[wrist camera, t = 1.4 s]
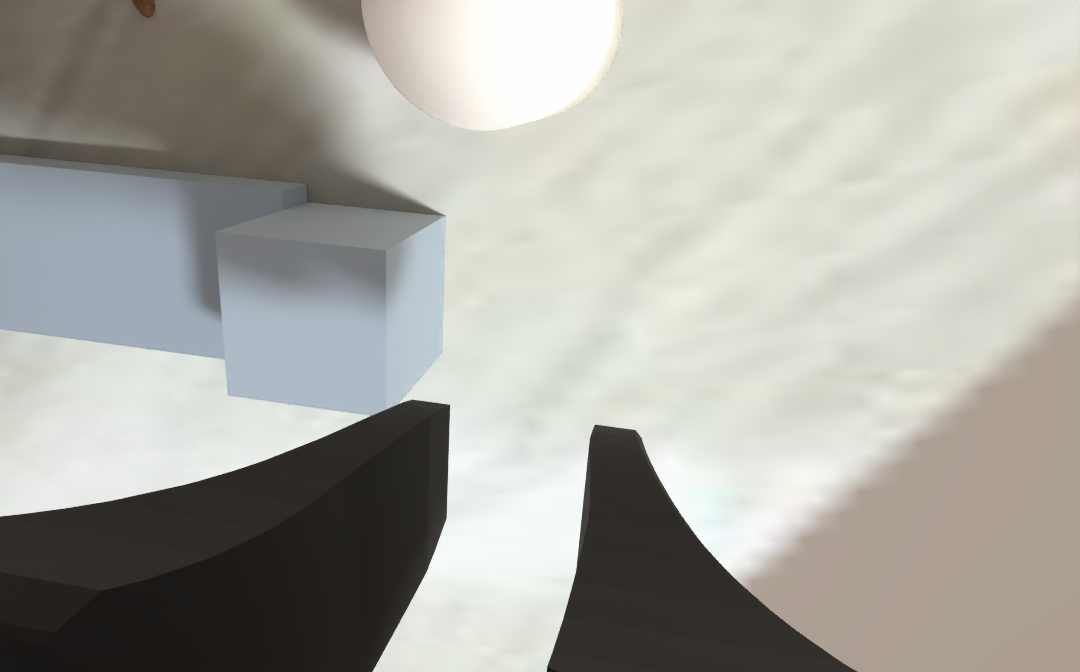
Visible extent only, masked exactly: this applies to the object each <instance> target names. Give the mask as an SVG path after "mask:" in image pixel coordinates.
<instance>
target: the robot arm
mask: <svg viewBox="0 0 1080 672" xmlns="http://www.w3.org/2000/svg"><path fill="white" fill-rule="evenodd" d="M449 420H450V405H447V404H440V403H432V402H425V401H418V400H410V401H407V402H403V403H401V404H398V405H395V406H393V407H390V408H388V409H386V410H383V411H381V412H379V413H377V414H374V415H372V416H370V417H368V418H366V419H363V420H361V421H359V422H357V423H354V424H352V425H350V426H348V427H345V428H343V429H341V430H339V431H336V432H334V433H332V434H330V435H328V436H325V437H323V438H321V439H318V440H316V441H313V442H311V443H308V444H305V445H303V446H300V447H298V448H295V449H293V450H290V451H288V452H285V453H283V454H280V455H278V456H275V457H273V458H270V459H268V460H265V461H262V462H259V463H256V464H253V465H250V466H247V467H244V468H241V469H238V470H235V471H232V472H228V473H225V474H222V475H218V476H215V477H211V478H208V479H205V480H201V481H198V482H194V483H190V484H186V485H182V486H177V487H173V488H168V489H164V490H159V491H155V492H150V493H146V494H141V495H137V496H132V497H127V498H123V499H118V500H113V501H108V502H102V503H96V504H90V505H84V506H78V507H72V508H66V509H58V510H51V511H43V512H36V513H28V514H20V515H11V516H2V517H0V672H372V671H373V670H374V668H375V666H376V664H377V662H378V661H379V659H380V657H381V655H382V653H383V651H384V650H385V648H386V646H387V644H388V642H389V640H390V639H391V637H392V635H393V633H394V631H395V629H396V628H397V626H398V624H399V622H400V620H401V619H402V617H403V615H404V613H405V611H406V609H407V607H408V606H409V604H410V602H411V600H412V598H413V596H414V594H415V593H416V591H417V589H418V587H419V585H420V583H421V581H422V579H423V577H424V576H425V574H426V572H427V569H428V567H429V564H430V562H431V559H432V556H433V554H434V551H435V549H436V546H437V543H438V540H439V538H440V535H441V532H442V529H443V526H444V524H445V521H446V518H447V485H448V452H449ZM547 672H857V671H855V670H853V669H852V668H850V667H848V666H847V665H845V664H843V663H842V662H840V661H839V660H837V659H836V658H834V657H833V656H831V655H830V654H829V653H827V652H826V651H824V650H823V649H822V648H820V647H819V646H817V645H816V644H814V643H813V642H812V641H810V640H809V639H807V638H806V637H804V636H803V635H802V634H800V633H799V632H797V631H796V630H795V629H794V628H792V627H791V626H790V625H788V624H787V623H786V622H785V621H783V620H782V619H781V618H779V617H778V616H777V615H776V614H774V613H773V612H772V611H771V610H769V609H768V608H767V607H766V606H765V605H764V604H762V603H761V602H760V601H759V600H758V599H757V598H756V597H755V596H753V595H752V594H751V593H750V592H749V591H748V590H747V589H746V588H744V587H743V586H742V585H741V584H740V583H739V582H738V581H737V580H736V579H735V578H734V577H733V576H732V575H731V574H730V573H729V572H728V571H727V570H726V569H725V568H724V567H723V566H722V565H721V564H720V563H719V562H718V561H717V560H716V559H715V557H714V556H713V555H712V554H711V553H710V552H709V551H708V550H707V549H706V548H705V546H704V545H703V544H702V543H701V541H700V540H699V539H698V538H697V536H696V535H695V534H694V532H693V531H692V530H691V528H690V527H689V525H688V524H687V523H686V521H685V520H684V518H683V517H682V516H681V514H680V513H679V511H678V509H677V508H676V506H675V505H674V503H673V502H672V500H671V498H670V497H669V495H668V493H667V492H666V490H665V488H664V486H663V485H662V483H661V481H660V480H659V478H658V476H657V474H656V472H655V470H654V468H653V466H652V464H651V462H650V460H649V457H648V455H647V453H646V450H645V448H644V445H643V442H642V438H641V437H640V435H639V434H638V433H637V432H636V430H630V429H623V428H615V427H608V426H601V425H595V426H594V429H593V431H592V434H591V437H590V443H589V453H588V463H587V472H586V482H585V492H584V501H583V511H582V521H581V531H580V540H579V550H578V560H577V569H576V574H575V578H574V582H573V586H572V590H571V593H570V597H569V601H568V604H567V608H566V611H565V615H564V619H563V622H562V625H561V628H560V631H559V634H558V637H557V640H556V643H555V646H554V650H553V653H552V655H551V658H550V661H549V664H548V666H547Z"/></svg>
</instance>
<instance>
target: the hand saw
mask: <svg viewBox="0 0 1080 672" xmlns="http://www.w3.org/2000/svg"><path fill="white" fill-rule="evenodd" d="M132 1H133V3H134V5H135V6H136V8H137V9H138V10H139V11H140V12H141V14H142V15H144V16H146V17H151V16H152V15H153V13H154V10H155V5H154V0H132Z"/></svg>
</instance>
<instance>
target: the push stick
mask: <svg viewBox="0 0 1080 672" xmlns="http://www.w3.org/2000/svg"><path fill="white" fill-rule="evenodd" d="M445 218H446V216H442V215H432V214H423V213H413V212H403V211H393V210H383V209H373V208H363V207H353V206H343V205H334V204H324V203H314V202H307V184H303V183H293V182H283V181H273V180H262V179H252V178H242V177H232V176H222V175H211V174H201V173H191V172H181V171H170V170H160V169H150V168H140V167H129V166H119V165H109V164H99V163H88V162H78V161H68V160H58V159H47V158H37V157H27V156H17V155H6V154H0V329H4V330H11V331H19V332H26V333H33V334H41V335H48V336H56V337H63V338H71V339H78V340H86V341H93V342H100V343H108V344H115V345H123V346H130V347H138V348H145V349H153V350H160V351H167V352H175V353H182V354H190V355H197V356H205V357H212V358H220V359H225V363H226V376H227V388H228V395H229V396H236V397H243V398H250V399H257V400H264V401H271V402H278V403H285V404H292V405H300V406H307V407H314V408H321V409H328V410H335V411H342V412H349V413H356V414H363V415H370V416H372V415H374V414H377V413H379V412H381V411H383V410H386V409H388V408H390V407H393V406H395V405H398V404H399V402H400V401H401V400H402V399H403V398H404V397H405V395H406V394H407V393H408V392H409V391H410V390H411V388H412V387H413V386H414V385H415V384H416V382H417V381H418V380H419V379H420V378H421V377H422V375H423V374H424V373H425V372H426V371H427V370H428V368H429V367H430V366H431V365H432V364H433V363H434V361H435V360H436V359H437V358H438V357H439V355H440V354H441V353H442V334H443V295H444V257H445Z"/></svg>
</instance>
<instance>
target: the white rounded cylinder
mask: <svg viewBox="0 0 1080 672" xmlns="http://www.w3.org/2000/svg"><path fill="white" fill-rule="evenodd" d="M361 9H362V15H363V21H364V26H365V30H366V33H367V37H368V40H369V43H370V46H371V48H372V50H373V53H374V55H375V57H376V59H377V61H378V63H379V65H380V66H381V68H382V70H383V72H384V73H385V75H386V76H387V77H388V79H389V80H390V81H391V83H392V84H393V85H394V87H395V88H396V89H397V90H398V91H399V92H400V93H401V94H402V95H403V96H404V97H405V98H406V99H407V100H408V101H409V102H410V103H412V104H413V105H414V106H415V107H417V108H418V109H419V110H421V111H423V112H424V113H426V114H427V115H429V116H431V117H433V118H435V119H437V120H439V121H441V122H444V123H446V124H449V125H453V126H456V127H459V128H465V129H471V130H497V129H505V128H509V127H513V126H516V125H520V124H524V123H528V122H531V121H535V120H539V119H543V118H546V117H550V116H554V115H557V114H560V113H562V112H565V111H567V110H569V109H571V108H573V107H574V106H576V105H578V104H579V103H581V102H582V101H583V100H584V99H586V98H587V97H588V96H589V95H590V94H591V93H592V92H593V91H594V90H595V89H596V88H597V87H598V86H599V84H600V83H601V82H602V80H603V79H604V78H605V76H606V75H607V73H608V71H609V69H610V68H611V66H612V64H613V61H614V59H615V57H616V54H617V51H618V47H619V44H620V40H621V34H622V27H623V8H622V0H361Z"/></svg>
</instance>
